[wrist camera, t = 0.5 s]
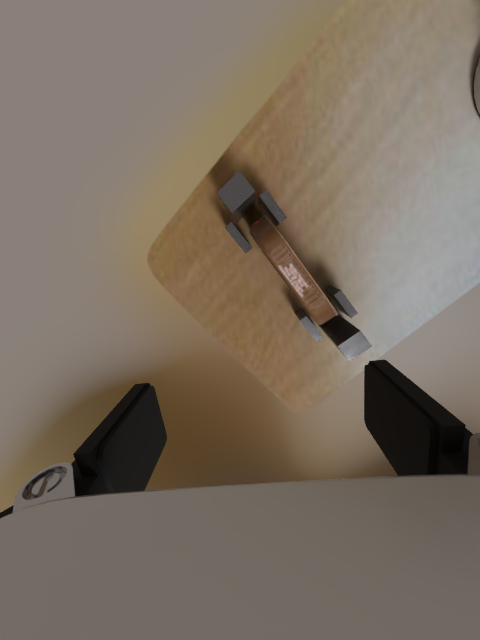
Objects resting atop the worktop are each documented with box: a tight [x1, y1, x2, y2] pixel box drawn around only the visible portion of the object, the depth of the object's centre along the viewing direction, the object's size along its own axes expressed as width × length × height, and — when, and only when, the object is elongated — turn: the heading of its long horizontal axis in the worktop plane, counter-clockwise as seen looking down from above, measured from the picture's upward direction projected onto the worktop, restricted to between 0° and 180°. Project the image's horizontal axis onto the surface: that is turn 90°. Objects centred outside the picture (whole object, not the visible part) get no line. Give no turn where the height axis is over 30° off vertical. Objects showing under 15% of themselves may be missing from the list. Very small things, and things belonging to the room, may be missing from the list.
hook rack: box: [217, 170, 372, 361], centre depth 29 cm, size 6×23×8 cm, turn 40°
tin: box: [250, 214, 338, 325], centre depth 29 cm, size 15×3×8 cm, turn 39°
